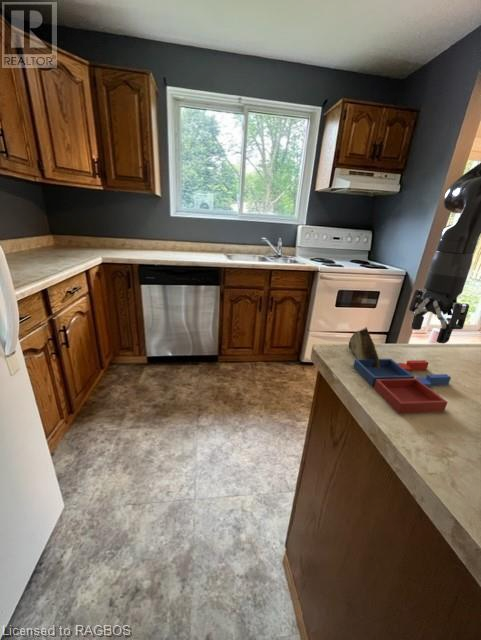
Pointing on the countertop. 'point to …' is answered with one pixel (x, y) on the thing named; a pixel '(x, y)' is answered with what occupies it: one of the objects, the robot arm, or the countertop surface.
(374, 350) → the rock
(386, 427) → the countertop surface
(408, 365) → the red spoon
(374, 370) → the blue tray
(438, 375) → the blue spoon
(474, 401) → the countertop surface
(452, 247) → the robot arm
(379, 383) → the red tray
